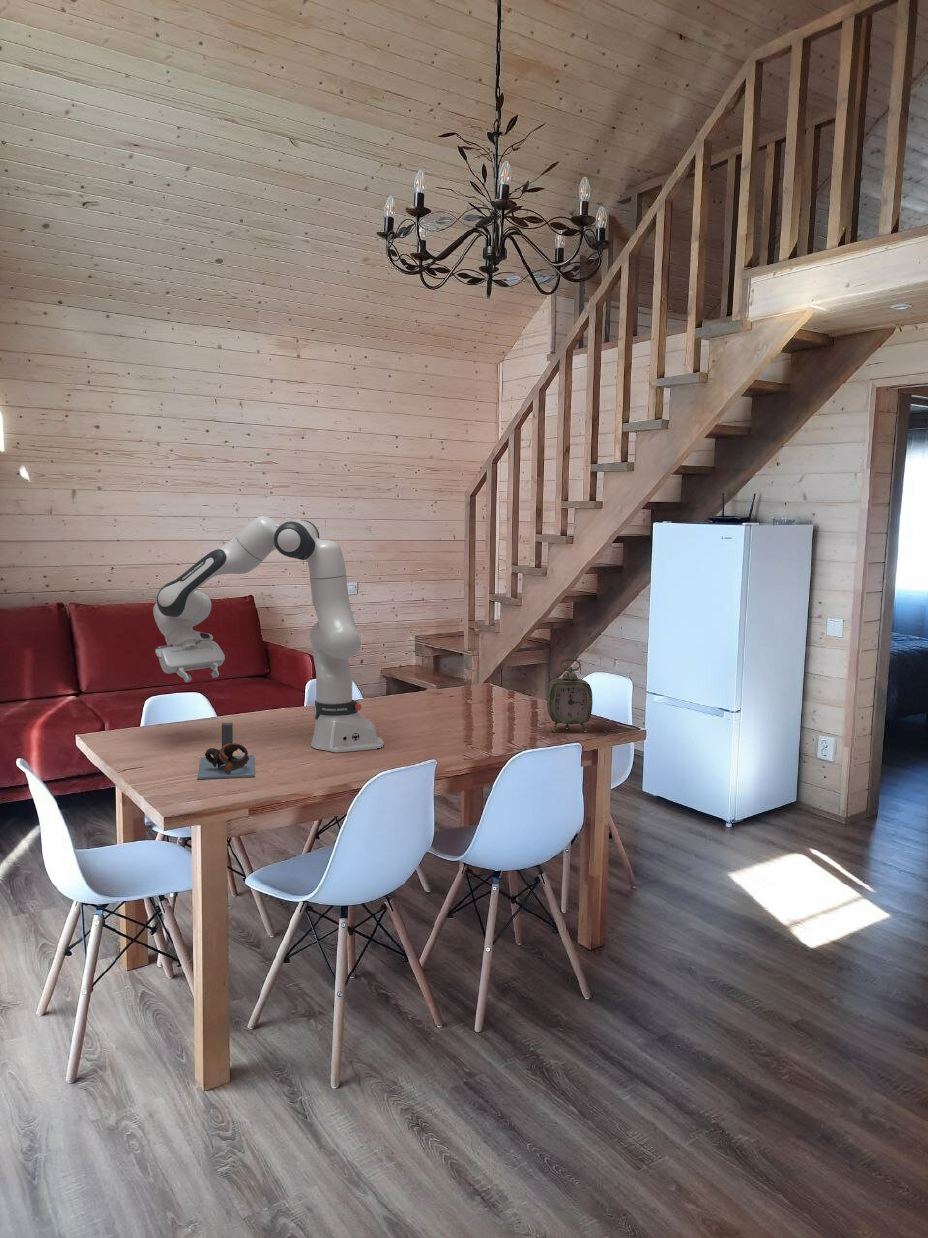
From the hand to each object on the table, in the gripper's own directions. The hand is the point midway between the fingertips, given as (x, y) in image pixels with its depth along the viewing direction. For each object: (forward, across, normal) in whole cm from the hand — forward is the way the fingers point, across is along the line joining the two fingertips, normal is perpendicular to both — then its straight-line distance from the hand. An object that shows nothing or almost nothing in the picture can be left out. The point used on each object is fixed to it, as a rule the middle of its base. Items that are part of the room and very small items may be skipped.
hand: (202, 678), depth 271 cm
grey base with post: (+31, -8, -1) cm, 32 cm away
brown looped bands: (+33, -10, -3) cm, 35 cm away
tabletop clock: (+63, +100, -29) cm, 121 cm away
